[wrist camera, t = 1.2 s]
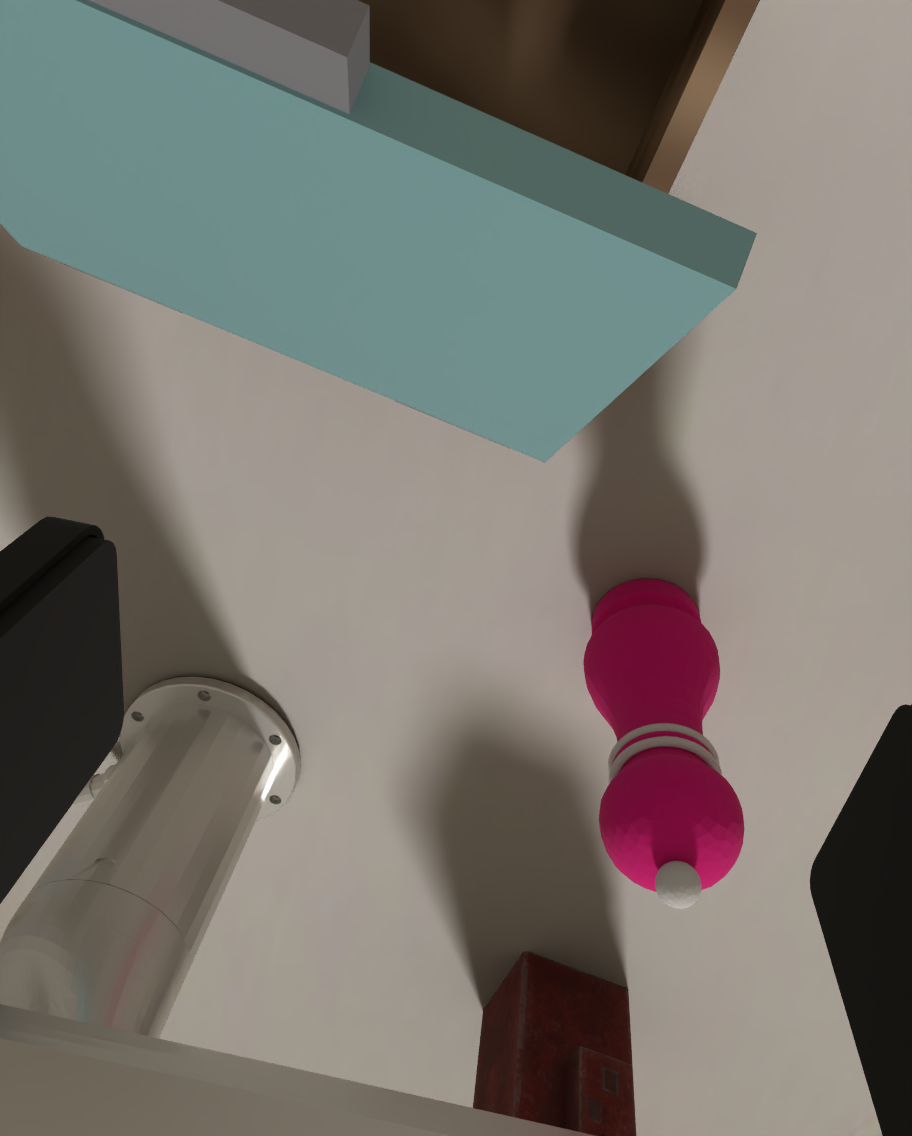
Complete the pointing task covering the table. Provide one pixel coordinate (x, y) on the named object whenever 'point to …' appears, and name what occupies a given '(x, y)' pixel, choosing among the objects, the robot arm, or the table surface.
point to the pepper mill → (661, 742)
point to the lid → (345, 210)
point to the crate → (573, 68)
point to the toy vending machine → (557, 1050)
